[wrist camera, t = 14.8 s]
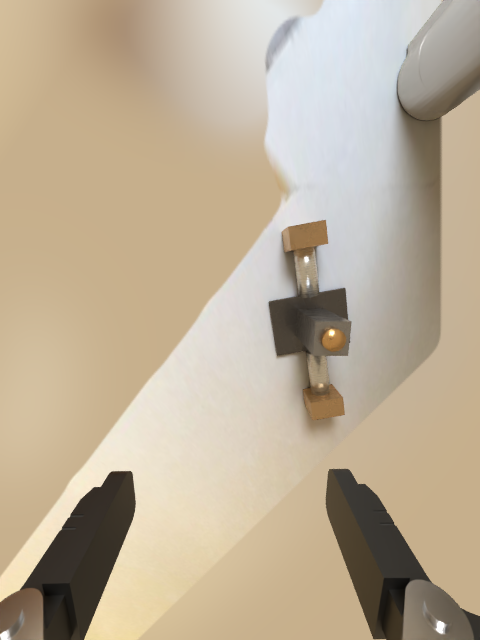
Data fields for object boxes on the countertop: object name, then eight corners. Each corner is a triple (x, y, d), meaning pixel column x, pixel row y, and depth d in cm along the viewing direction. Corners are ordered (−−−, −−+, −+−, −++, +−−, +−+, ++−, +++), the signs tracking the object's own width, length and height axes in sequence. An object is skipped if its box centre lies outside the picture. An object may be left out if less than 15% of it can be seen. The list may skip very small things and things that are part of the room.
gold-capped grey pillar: (295, 336, 39) (315, 357, 30) (297, 309, 39) (317, 322, 29) (322, 336, 40) (350, 357, 30) (325, 309, 39) (354, 322, 29)
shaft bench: (258, 235, 37) (261, 231, 32) (338, 221, 36) (352, 215, 32) (285, 408, 43) (290, 423, 38) (353, 396, 42) (366, 411, 38)
